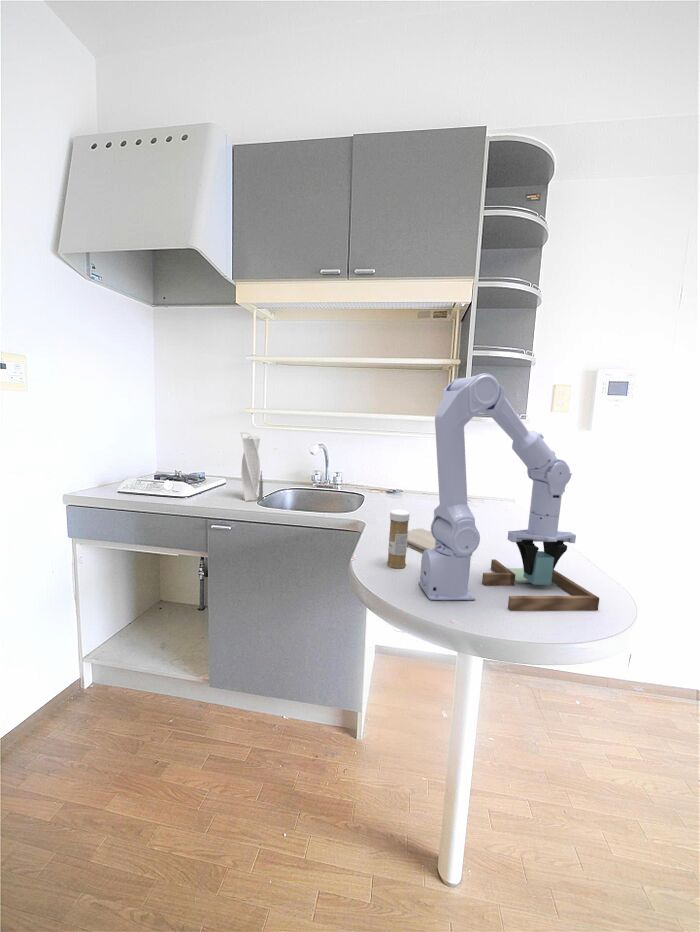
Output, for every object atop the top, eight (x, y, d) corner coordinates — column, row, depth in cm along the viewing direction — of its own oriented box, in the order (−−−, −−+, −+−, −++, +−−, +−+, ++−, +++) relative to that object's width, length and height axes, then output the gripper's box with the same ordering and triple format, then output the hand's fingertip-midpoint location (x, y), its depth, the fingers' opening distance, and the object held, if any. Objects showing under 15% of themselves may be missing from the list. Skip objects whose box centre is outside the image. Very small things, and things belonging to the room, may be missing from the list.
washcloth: (432, 560, 97) (433, 548, 97) (388, 540, 112) (388, 530, 112) (463, 553, 104) (464, 542, 104) (417, 535, 119) (418, 525, 118)
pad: (516, 583, 84) (516, 581, 84) (499, 569, 92) (499, 568, 92) (548, 583, 85) (548, 581, 85) (529, 569, 93) (529, 568, 93)
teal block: (533, 584, 81) (536, 557, 80) (523, 576, 85) (526, 551, 84) (551, 584, 81) (554, 557, 81) (539, 576, 85) (542, 551, 85)
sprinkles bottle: (385, 561, 93) (388, 508, 92) (403, 562, 94) (406, 509, 92) (389, 569, 89) (392, 513, 87) (408, 569, 89) (411, 514, 88)
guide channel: (510, 610, 71) (511, 598, 71) (467, 569, 91) (468, 559, 91) (597, 610, 73) (599, 598, 73) (536, 569, 93) (538, 559, 93)
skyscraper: (242, 502, 150) (243, 432, 146) (237, 498, 157) (238, 431, 153) (263, 501, 154) (265, 433, 151) (257, 497, 161) (258, 432, 158)
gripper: (522, 517, 77) (516, 580, 78) (588, 518, 78) (580, 581, 80) (505, 508, 84) (499, 567, 85) (566, 510, 85) (559, 568, 87)
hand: (537, 573), depth 83 cm, fingers closed on teal block, 4 cm apart
